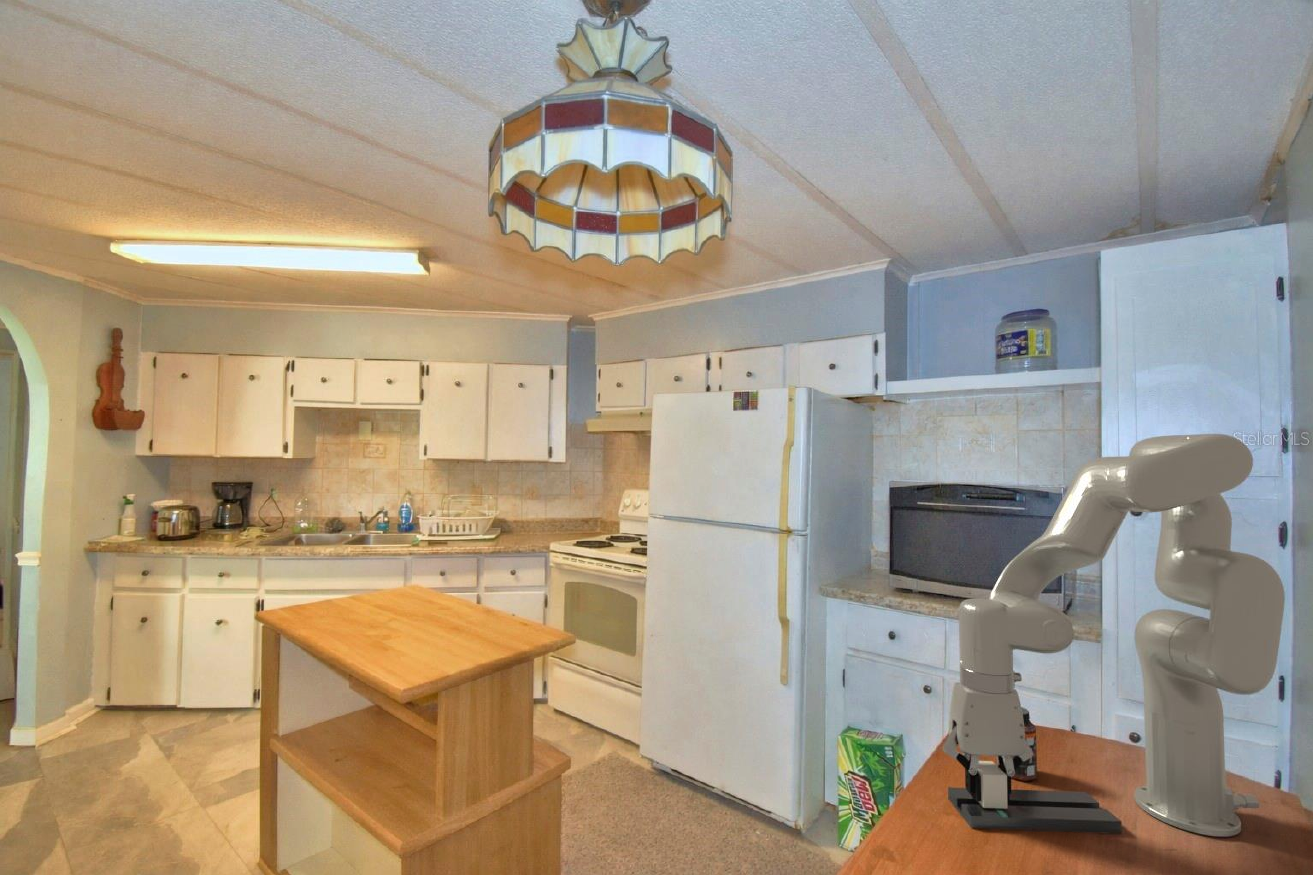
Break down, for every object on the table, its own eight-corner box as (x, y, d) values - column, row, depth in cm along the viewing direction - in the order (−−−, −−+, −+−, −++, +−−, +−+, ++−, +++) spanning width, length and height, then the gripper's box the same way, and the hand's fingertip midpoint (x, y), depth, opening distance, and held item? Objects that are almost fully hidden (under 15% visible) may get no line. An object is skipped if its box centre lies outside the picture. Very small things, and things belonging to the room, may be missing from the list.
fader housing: (1085, 803, 97) (1085, 791, 97) (1121, 833, 89) (1121, 820, 89) (948, 798, 98) (948, 786, 98) (971, 827, 90) (971, 815, 90)
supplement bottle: (1043, 784, 103) (1041, 717, 103) (1005, 780, 104) (1004, 714, 104) (1029, 767, 109) (1027, 704, 109) (993, 763, 110) (992, 701, 110)
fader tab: (992, 800, 96) (992, 761, 96) (1007, 816, 92) (1006, 775, 92) (970, 799, 96) (969, 760, 97) (983, 815, 92) (983, 774, 92)
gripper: (1026, 672, 98) (1028, 786, 97) (923, 669, 99) (925, 782, 98) (1054, 689, 91) (1057, 812, 90) (943, 686, 92) (944, 808, 91)
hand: (988, 795), depth 94 cm, fingers closed on fader tab, 3 cm apart
